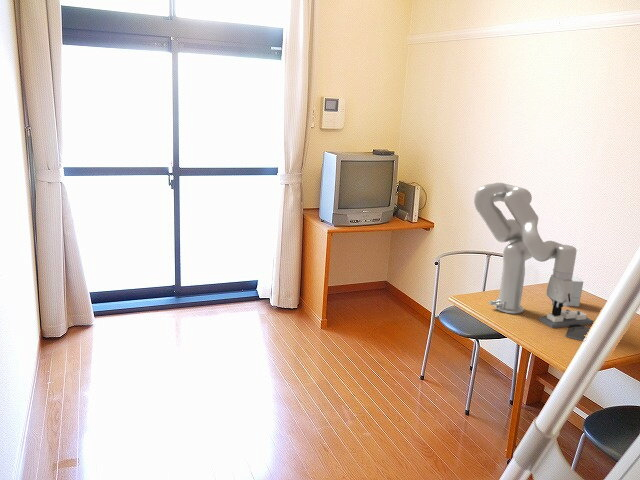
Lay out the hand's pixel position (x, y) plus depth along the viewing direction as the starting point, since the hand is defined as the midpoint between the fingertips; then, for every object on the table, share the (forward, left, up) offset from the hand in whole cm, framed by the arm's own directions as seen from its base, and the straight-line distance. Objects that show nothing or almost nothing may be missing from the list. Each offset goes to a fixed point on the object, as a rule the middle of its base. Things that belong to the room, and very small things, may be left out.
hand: (556, 314), depth 214 cm
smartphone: (+3, -10, -5) cm, 11 cm away
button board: (+6, 0, -4) cm, 7 cm away
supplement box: (+23, +18, -4) cm, 30 cm away
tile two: (+6, 0, -1) cm, 6 cm away
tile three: (+12, 0, -2) cm, 12 cm away
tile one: (0, 0, -2) cm, 2 cm away
